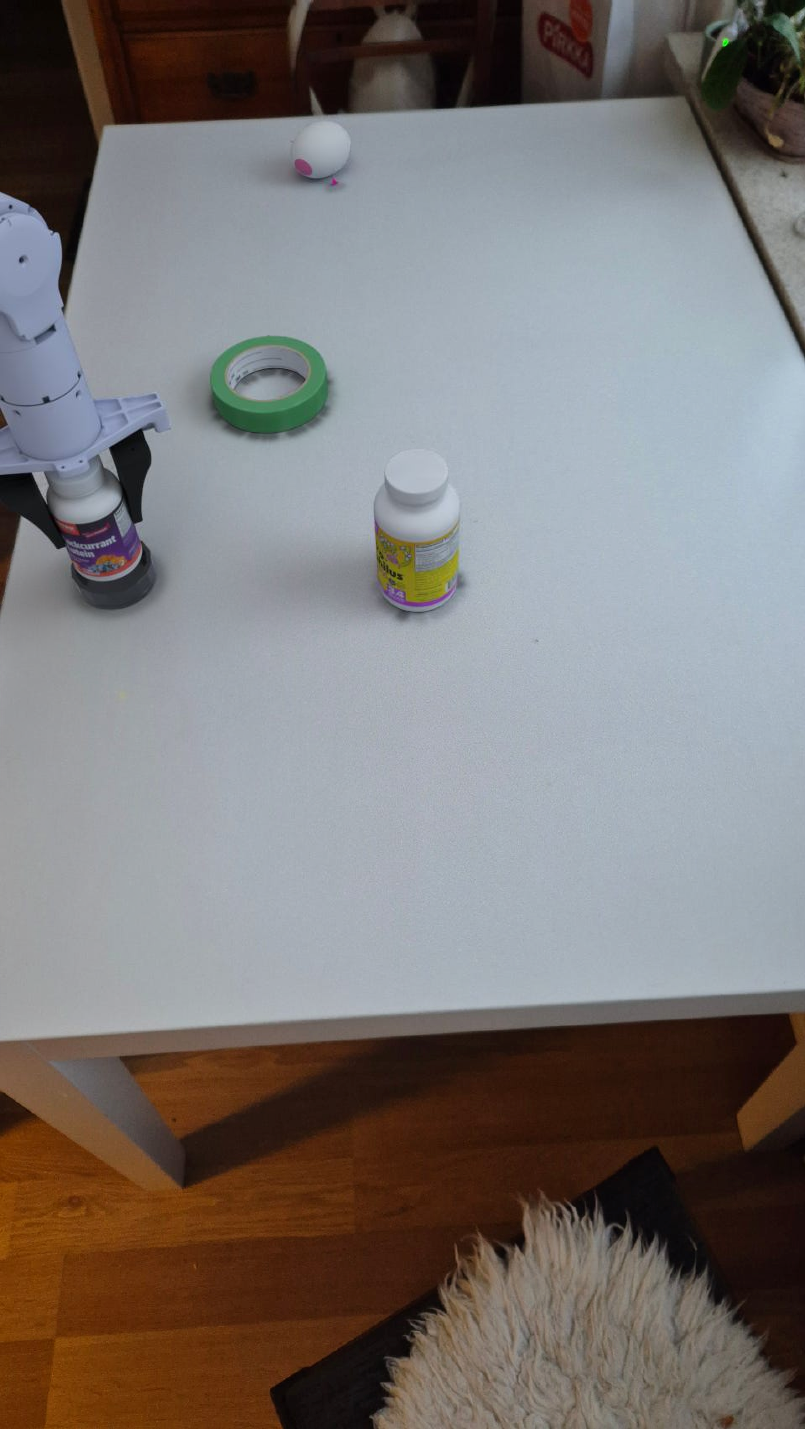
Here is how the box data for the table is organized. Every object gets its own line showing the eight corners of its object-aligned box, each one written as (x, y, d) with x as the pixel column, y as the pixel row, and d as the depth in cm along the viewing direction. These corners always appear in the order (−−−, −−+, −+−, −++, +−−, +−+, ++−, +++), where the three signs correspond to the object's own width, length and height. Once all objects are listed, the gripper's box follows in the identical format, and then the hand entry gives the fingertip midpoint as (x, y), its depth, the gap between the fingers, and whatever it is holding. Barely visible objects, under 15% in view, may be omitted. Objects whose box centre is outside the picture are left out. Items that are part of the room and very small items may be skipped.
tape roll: (302, 443, 94) (299, 421, 92) (195, 420, 96) (190, 397, 94) (344, 370, 100) (342, 347, 97) (242, 349, 102) (238, 326, 100)
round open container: (80, 616, 83) (73, 601, 82) (76, 558, 87) (69, 542, 85) (160, 600, 84) (154, 585, 82) (152, 544, 87) (147, 527, 86)
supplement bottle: (367, 568, 85) (358, 451, 75) (440, 546, 87) (441, 428, 76) (394, 625, 82) (389, 512, 71) (470, 602, 83) (475, 487, 72)
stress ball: (339, 184, 124) (319, 126, 121) (371, 169, 117) (350, 106, 115) (289, 204, 121) (266, 145, 119) (318, 189, 115) (295, 126, 112)
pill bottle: (67, 583, 77) (23, 490, 69) (82, 531, 80) (42, 436, 72) (136, 584, 77) (101, 491, 69) (149, 532, 80) (117, 437, 72)
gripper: (-67, 450, 61) (12, 596, 72) (164, 380, 64) (205, 530, 75) (-87, 382, 64) (-9, 531, 76) (133, 318, 67) (176, 470, 79)
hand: (96, 526), depth 76 cm, fingers closed on pill bottle, 5 cm apart
